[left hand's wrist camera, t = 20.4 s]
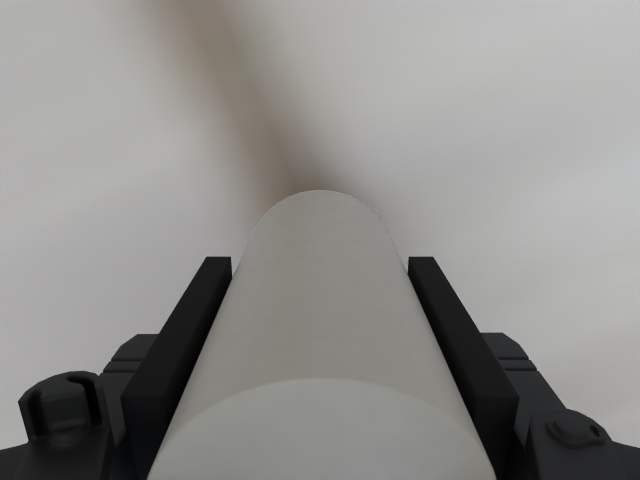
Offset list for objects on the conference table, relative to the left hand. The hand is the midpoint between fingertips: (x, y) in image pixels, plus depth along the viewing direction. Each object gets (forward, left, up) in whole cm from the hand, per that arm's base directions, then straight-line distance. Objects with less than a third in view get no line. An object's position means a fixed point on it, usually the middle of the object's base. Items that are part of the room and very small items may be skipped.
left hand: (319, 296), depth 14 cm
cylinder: (0, 0, -3) cm, 3 cm away
